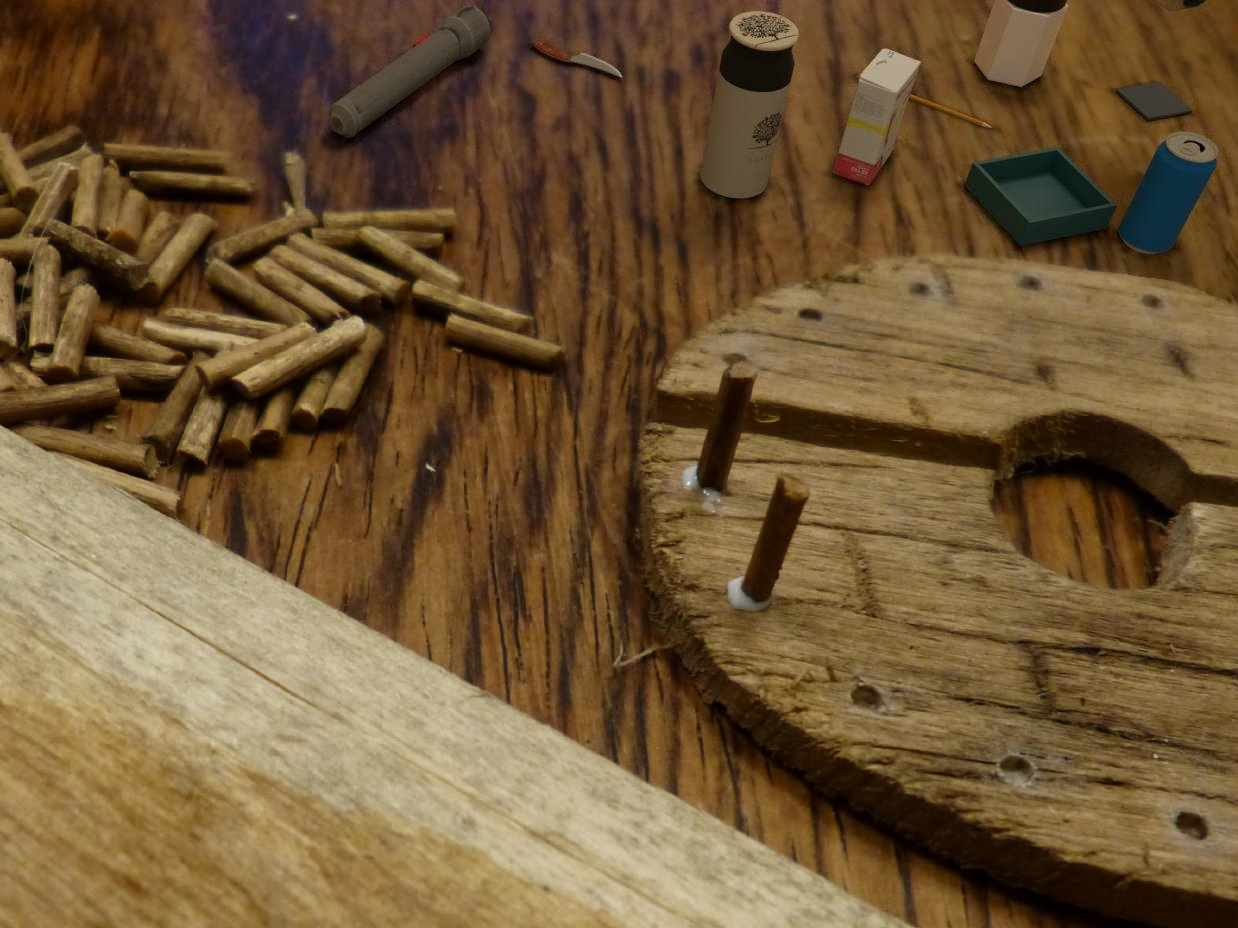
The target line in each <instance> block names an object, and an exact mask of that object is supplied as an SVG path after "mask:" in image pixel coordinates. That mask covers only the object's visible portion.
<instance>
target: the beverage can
mask: <svg viewBox="0 0 1238 928" xmlns="http://www.w3.org/2000/svg"><path fill="white" fill-rule="evenodd" d="M1218 155H1219V148H1218V146H1217V145H1216V144H1215V143H1214V142H1213V141H1212V140H1211V139H1209V138H1208V137H1206V136H1204V135H1202V134H1199V133H1196V132H1193V131H1192V132H1191V131H1175V132H1172V133H1170V134H1168V136H1167V137H1166V139H1165V140H1164V141H1162V142H1161V143H1160V144H1158V146H1157V148H1156V150H1155V151H1154V154H1153V155H1152V157H1151V160H1150V162H1149V164H1148V166H1147V167H1146V170H1145V172H1144V173H1143V176H1142V178H1141V180H1140V182H1139V184H1138V186H1137V188H1136V190H1135V192H1134V194H1133V196H1132V198H1131V200H1130V202H1129V204H1128V206H1127V208H1126V210H1125V212H1124V214H1123V216H1122V218H1121V221H1120V222H1119V223H1118V226H1117V227H1118V228H1117V233H1118V235H1119V236H1120V238H1121V240H1122V242H1123V243H1124V244H1125V245H1126V246H1127V247H1128V248H1130V249H1131V250H1132V251H1135V252H1137V253H1140V254H1146V255H1154V254H1155V255H1156V254H1159V253H1164V252H1166V251H1169V250H1171V248H1173V246H1174V245H1175V243H1176V242H1177V239H1178V237H1179V236H1180V233H1181V232H1182V230H1183V229H1184V227H1185V225H1186V223H1187V221H1188V220H1189V217H1190V215H1191V213H1192V212H1193V210H1194V208H1195V206H1196V205H1197V203H1198V201H1199V199H1200V197H1201V196H1202V193H1203V192H1204V191H1205V188H1206V186H1207V184H1208V183H1209V181H1210V178H1211V177H1212V175H1213V173H1214V171H1215V169H1216V167H1217V165H1218V160H1217V159H1218V158H1217V157H1218Z"/></svg>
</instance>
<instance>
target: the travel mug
mask: <svg viewBox="0 0 1238 928" xmlns="http://www.w3.org/2000/svg"><path fill="white" fill-rule="evenodd" d="M728 30H729V34H730V40H729V41H728V42H727V44H726V45H725V46H724V48H723V50H722V52H721V57H720V62H719V68H718V75H717V79H716V85H715V89H714V90H715V91H714V97H713V101H712V107H711V111H710V112H711V113H710V117H709V123H708V128H707V129H708V130H707V133H706V134H707V135H706V141H705V145H704V152H703V156H702V161H701V168H700V180H701V182H702V184H703V185H704V186H705V187H706V188H707V189H709V190H710V191H711V192H713V193H715V194H717V195H720V196H721V197H722V196H723V197H726V198H731V199H747V198H748V199H749V198H753V197H755V196H756V197H757V196H759V195H760V194H761V193H763V192H764V191H765V190H766V189H767V186H768V182H769V178H770V174H771V171H772V166H773V162H774V161H773V160H774V156H775V152H776V148H777V144H778V139H779V134H780V130H781V126H782V122H783V118H784V113H785V108H786V105H787V100H788V96H789V91H790V87H791V82H792V77H793V75H794V74H793V73H794V71H795V70H794V69H795V65H796V63H795V58H794V53H793V48H794V45H795V44H797V42H798V41H799V38H800V32H799V29H798V27H797V25H795V24H794V22H793V21H792V20H790V19H788V18H787V17H785V16H783V15H780V14H777V13H774V12H769V11H764V10H763V11H762V10H754V11H753V10H752V11H746V12H742V13H739V14H737V15H735V16H734V17H733V18H732V19H731V20H730V21H729V25H728Z"/></svg>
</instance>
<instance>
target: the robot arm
mask: <svg viewBox="0 0 1238 928" xmlns="http://www.w3.org/2000/svg"><path fill="white" fill-rule="evenodd" d="M1205 1H1206V2H1207V0H1184V2H1183V4H1184V5H1185V6H1186V7H1187V8H1189V9H1192V8H1191V7H1195V8H1198V7H1197V6H1199V5H1200V4H1201V3H1204V2H1205ZM1206 2H1205V3H1206Z"/></svg>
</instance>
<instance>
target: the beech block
mask: <svg viewBox="0 0 1238 928" xmlns="http://www.w3.org/2000/svg"><path fill="white" fill-rule="evenodd" d="M1155 2H1156V3H1158V4H1159V5H1160V6H1162V7H1163V8H1164V9H1165V10H1166V11H1168V12H1169V13H1170V12H1171V13H1172V12H1177V11H1184V10H1188V9H1189V10H1190V9H1195V8H1201V7H1205V4H1206V2H1207V0H1206V1H1205V2H1204V3H1201V4H1200V5H1199V6H1197V7H1191V8H1187V7H1186V6H1185V5H1184V4H1183V2H1184V0H1155Z"/></svg>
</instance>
